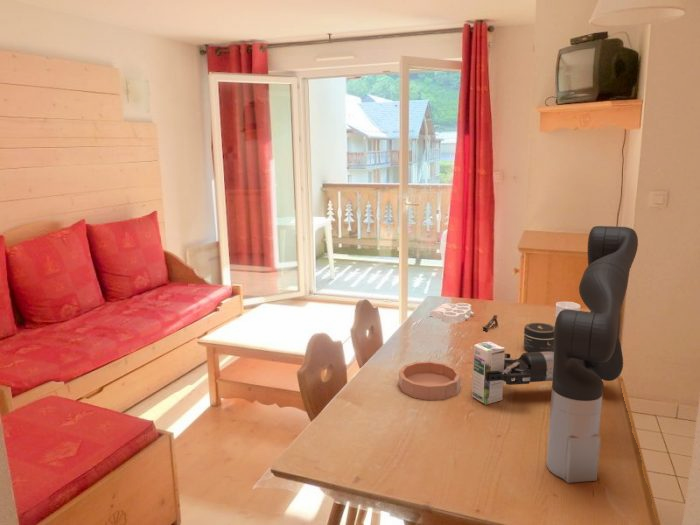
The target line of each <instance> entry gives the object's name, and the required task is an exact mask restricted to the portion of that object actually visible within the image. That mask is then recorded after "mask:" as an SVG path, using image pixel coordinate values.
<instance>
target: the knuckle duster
mask: <svg viewBox="0 0 700 525" xmlns="http://www.w3.org/2000/svg"><path fill="white" fill-rule="evenodd" d="M472 315H475V313H474V312H473V311H472V304H470V303H465V302H457V303H448V302H446V303H442V304H440V305H439V306H437V307H435V309H433V310H431V311H430V312H429V316H430V317H431V318H435V319H441V320H442V322H443V323H445V322H446V324H450V323H451V325H454V324H453V323H455V324H458V323H459V322H465V321H467V320H468V319H470V318H471V316H472Z"/></svg>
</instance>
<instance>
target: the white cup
mask: <svg viewBox="0 0 700 525" xmlns="http://www.w3.org/2000/svg"><path fill="white" fill-rule="evenodd" d="M565 309H568V310H577V311H581V304H579V303H576V302H572V301H557V302H556V303H555V316H554V318H555V322H556V318H557V316H558V314H559V313H560V312H561V311H562V310H565Z"/></svg>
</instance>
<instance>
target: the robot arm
mask: <svg viewBox="0 0 700 525" xmlns="http://www.w3.org/2000/svg"><path fill="white" fill-rule="evenodd" d="M638 238H639V237H638V234H637V232H636V230H634V229H633V228H632V227H631V228H630V227H628V226H627V227H626V226H608V225H607V226H606V225H596V226H592V228H591V229H590V231H589V234H588V238H587V266H586V268H585V270H584V272H583V274H582V277H581V280H580V281H579V282H580V283H579V286H578V292H579V295H580V299H581V300H582V302H583V304H584V305H585V306H586V307H587V308H588V310H589V311H584V310H583V311H582V310H580V311H577V310H568V309H565V310H562V311H561V312H560V313H559V314H558V316H557V318H556V321H555V322H554V326H555V328H554V352H523V353H521V355H520V357H519V358H513V357H511V354H510V353H505V358H504V370H503V371H501V372H500V371H492V372H486V373H485V380H486V381H498V380H501V381H502V382H503V383H505V384H506V386H507V385H508V386H510V385H511V386H515V385H527V384H528V385H529V384H530V383H538V382H551V383H552V386H551V398H550V409H549V422H548V423H549V424H548V438H547V451H546V452H547V453H546V454H547V455H546V467H547V469H548V470H549V471H550V472H551V473H552V474H553V475H554V476H556V477H558V478H560V479H562V480H564V481H565V482H566V483H568V484H569V483H581V482H583V483H584V482H594V481H595V482H596V481H597V479H598V471H599V470H598V468H599V458H600V448H601V440H602V439H601V436H600V424H601V416H602V405H603V397H604V396H603V394H604V382H603V381H605V382H612V381H614V380H617V379H618V378H619V377H620V376H621V374H622V373H623V372H622V371H623V367H624V357H623V351H622V344H621V341H620V328H621V327H620V326H621V310H622V306H623V303H624V300H625V296H626V293H627V290H628V284H629V277H630V271H631V269H632V265H633V263H634V260H635V259H636V255H637V251H638V247H639V239H638Z"/></svg>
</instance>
